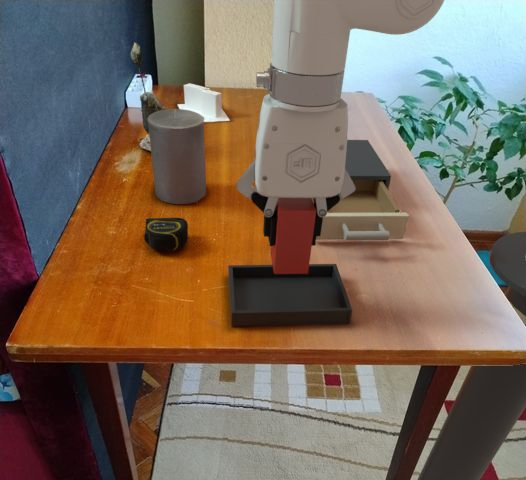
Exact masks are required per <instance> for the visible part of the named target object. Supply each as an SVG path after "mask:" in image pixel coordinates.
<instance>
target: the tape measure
mask: <svg viewBox="0 0 526 480" xmlns="http://www.w3.org/2000/svg"><path fill="white" fill-rule="evenodd" d="M188 231H189V223H188V221H187V220H186V219H185V218H181V217H149V218H145V228H144V234H143V238H144V241H145V243H146V244H147V245H148V247H150V248H151V249H152V250H154V251H158V252H172V251H177V250H180V249H182V248H184V247H185V246H186V245H187V244H188V240H189V232H188Z"/></svg>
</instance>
